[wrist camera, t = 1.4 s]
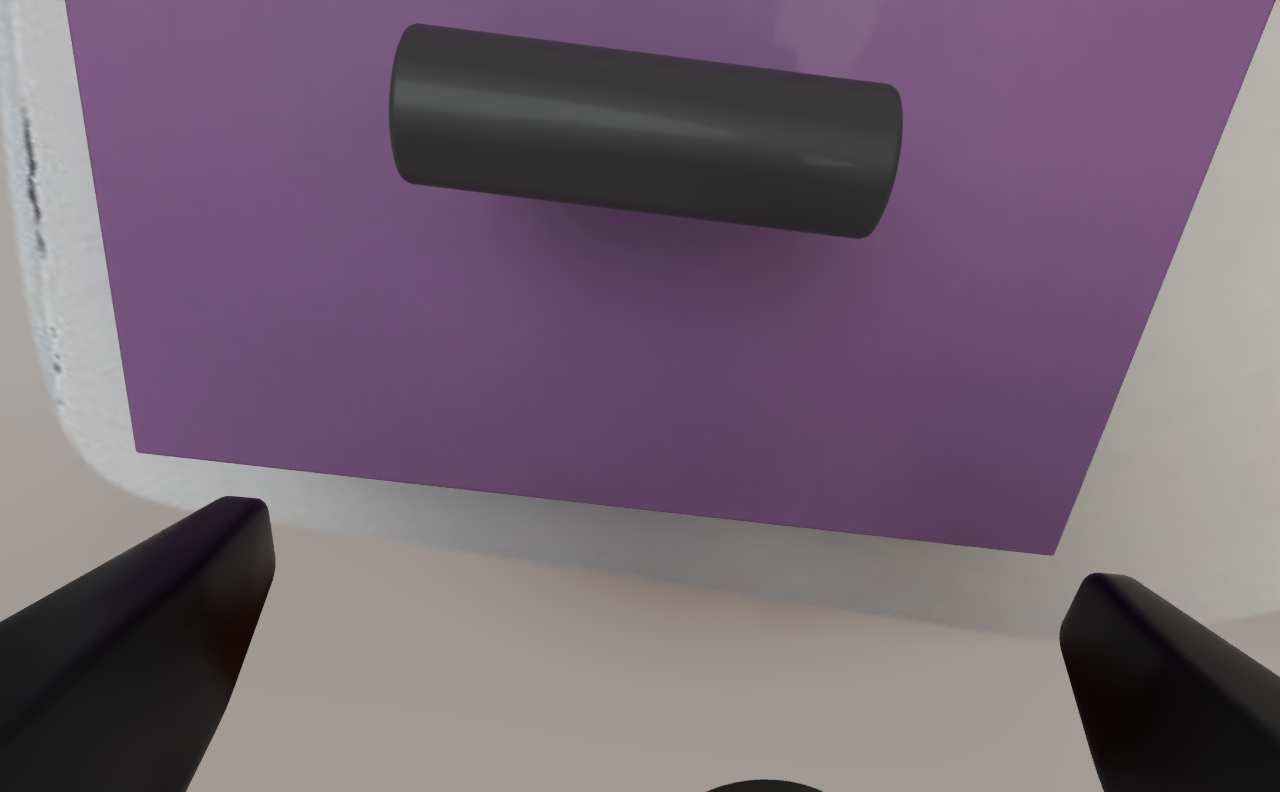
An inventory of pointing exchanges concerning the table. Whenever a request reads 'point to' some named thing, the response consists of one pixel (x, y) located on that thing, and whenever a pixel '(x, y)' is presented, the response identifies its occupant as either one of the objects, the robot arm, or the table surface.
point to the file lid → (654, 242)
